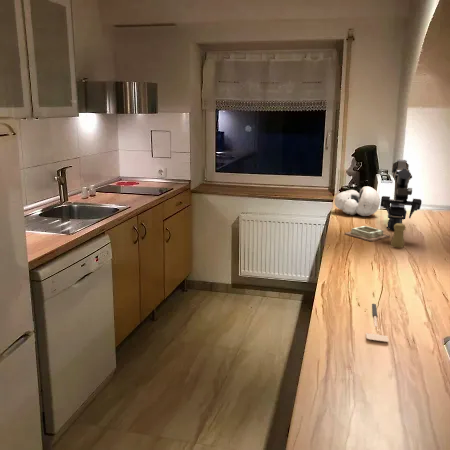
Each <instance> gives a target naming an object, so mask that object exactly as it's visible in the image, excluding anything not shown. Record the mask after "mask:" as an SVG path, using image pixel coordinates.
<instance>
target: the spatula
mask: <svg viewBox="0 0 450 450" xmlns="http://www.w3.org/2000/svg"><path fill="white" fill-rule="evenodd" d="M371 310H372V317H373V321H374V322H373V323H374V325H373V327H378V319H377V317H378V309H377V303H372V304H371ZM365 338H366V340H370V341H372V340H373V341H378V342H386V343H388V342H389V338H388V335H382V334H374V333H368V332H365Z"/></svg>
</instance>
